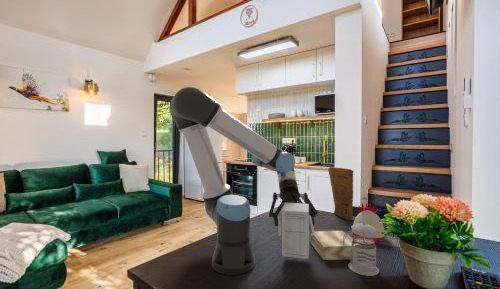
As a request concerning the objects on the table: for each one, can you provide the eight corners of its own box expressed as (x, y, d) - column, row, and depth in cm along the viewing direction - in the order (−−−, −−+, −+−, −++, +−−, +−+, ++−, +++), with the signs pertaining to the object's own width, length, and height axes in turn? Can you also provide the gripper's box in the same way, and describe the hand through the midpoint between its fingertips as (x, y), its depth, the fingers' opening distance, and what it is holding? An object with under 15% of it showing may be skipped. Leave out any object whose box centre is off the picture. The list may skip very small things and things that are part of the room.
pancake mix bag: (347, 222, 134) (348, 169, 133) (326, 212, 152) (327, 166, 151) (358, 221, 136) (358, 169, 135) (336, 211, 154) (336, 165, 153)
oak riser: (323, 260, 92) (323, 246, 92) (310, 243, 107) (310, 231, 107) (360, 258, 93) (360, 245, 93) (342, 242, 108) (342, 230, 108)
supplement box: (309, 246, 95) (310, 203, 94) (308, 259, 86) (309, 212, 85) (283, 243, 98) (284, 201, 96) (280, 256, 89) (281, 209, 87)
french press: (383, 277, 81) (384, 200, 81) (345, 273, 83) (346, 198, 83) (374, 262, 91) (375, 193, 90) (340, 259, 93) (341, 192, 92)
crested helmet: (353, 228, 125) (353, 198, 125) (384, 233, 119) (385, 201, 119) (350, 238, 113) (350, 204, 113) (384, 244, 107) (385, 209, 106)
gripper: (313, 188, 109) (325, 238, 94) (259, 188, 107) (262, 238, 92) (317, 178, 104) (331, 229, 89) (260, 178, 102) (265, 229, 87)
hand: (296, 234), depth 90 cm, fingers closed on supplement box, 11 cm apart
